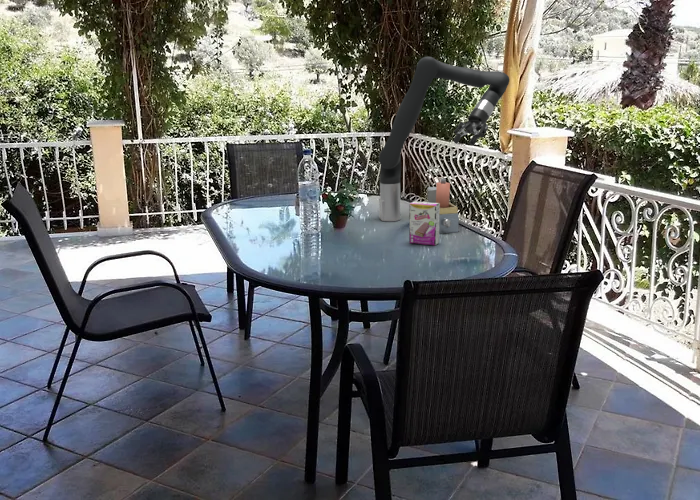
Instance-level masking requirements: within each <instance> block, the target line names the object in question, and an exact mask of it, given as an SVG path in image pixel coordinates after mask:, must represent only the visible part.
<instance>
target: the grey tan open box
mask: <svg viewBox="0 0 700 500" xmlns="http://www.w3.org/2000/svg"><path fill="white" fill-rule="evenodd" d="M459 216H460V215H459V212H458V206H456V205H454V204H453V203H451V202H450V201H449V207H447V208H440V215H439V234H448V233H450V234H451V233H459V219H460V218H459Z"/></svg>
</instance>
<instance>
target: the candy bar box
mask: <svg viewBox="0 0 700 500" xmlns="http://www.w3.org/2000/svg"><path fill="white" fill-rule="evenodd" d="M439 215H440V203H429V202H428V201H415V200H413V201H412V202H410V203H409V217H408V218H409V219H408V220H409V224H408V225H409V226H408V227H409V230H408V231H409V237H408V239H409V241H408V243H409V244H414V245H415V244H416V245H423V246H432V247H433V246H437V245H438V244H439V243H440V233H439Z"/></svg>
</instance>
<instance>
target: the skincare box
mask: <svg viewBox="0 0 700 500" xmlns="http://www.w3.org/2000/svg"><path fill="white" fill-rule="evenodd" d="M427 202H429V203H436V186H427Z"/></svg>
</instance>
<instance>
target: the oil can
mask: <svg viewBox="0 0 700 500" xmlns="http://www.w3.org/2000/svg"><path fill="white" fill-rule="evenodd" d="M435 187H436V203H440V208H447V207H449V202H450V195H451V194H450V191H451V188H450V187H451V183H450V182H447V179H446V178H443V177H442V178H441V179H440V181H439V182H436V186H435Z"/></svg>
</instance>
